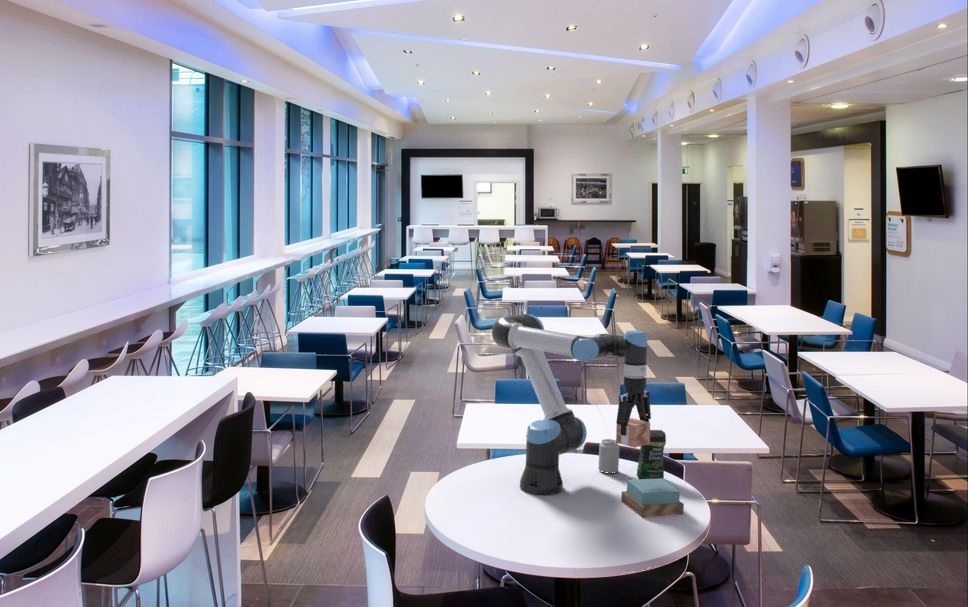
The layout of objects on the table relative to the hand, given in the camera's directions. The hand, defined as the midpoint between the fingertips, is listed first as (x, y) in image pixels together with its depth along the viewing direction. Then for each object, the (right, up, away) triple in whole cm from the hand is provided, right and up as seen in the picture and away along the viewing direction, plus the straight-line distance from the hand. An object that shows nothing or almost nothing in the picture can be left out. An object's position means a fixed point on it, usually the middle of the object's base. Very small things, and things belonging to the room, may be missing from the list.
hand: (633, 442), depth 267 cm
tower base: (+5, -21, -6) cm, 23 cm away
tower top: (+5, -17, -5) cm, 19 cm away
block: (0, 0, 0) cm, 0 cm away
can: (-4, -17, +32) cm, 36 cm away
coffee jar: (+11, -18, +24) cm, 32 cm away
